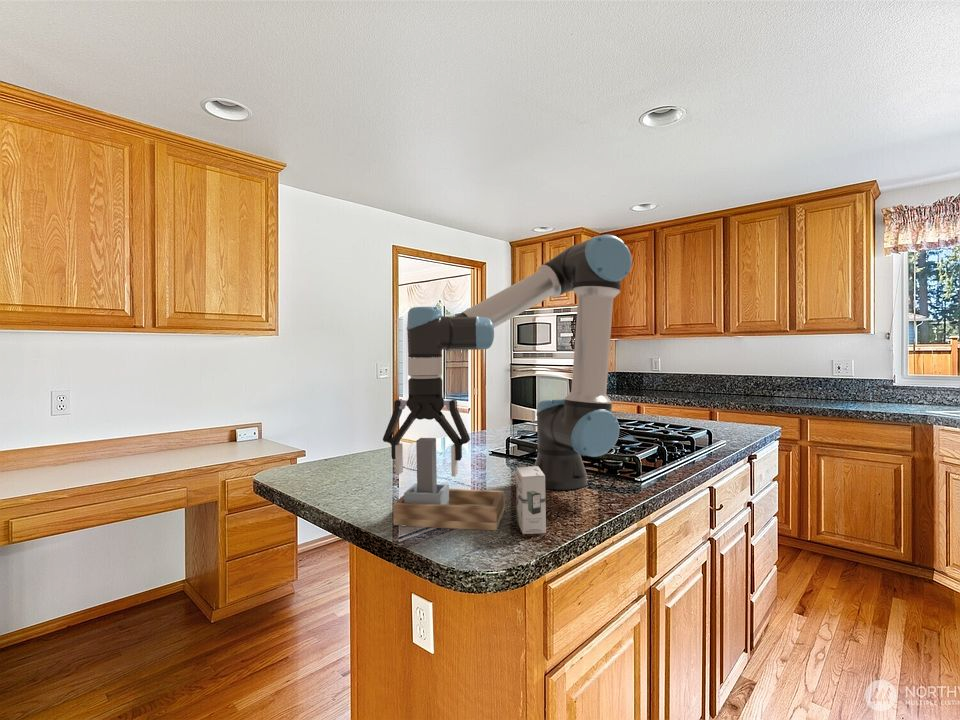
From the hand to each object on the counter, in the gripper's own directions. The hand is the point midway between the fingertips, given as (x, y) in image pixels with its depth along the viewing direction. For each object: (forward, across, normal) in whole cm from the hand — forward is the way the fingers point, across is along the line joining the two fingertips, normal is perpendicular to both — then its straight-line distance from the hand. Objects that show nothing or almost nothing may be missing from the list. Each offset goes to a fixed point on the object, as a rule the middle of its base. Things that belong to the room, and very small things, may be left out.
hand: (426, 474), depth 112 cm
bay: (+9, -5, 0) cm, 11 cm away
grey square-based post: (+8, 0, 0) cm, 8 cm away
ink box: (+10, -23, +3) cm, 25 cm away
